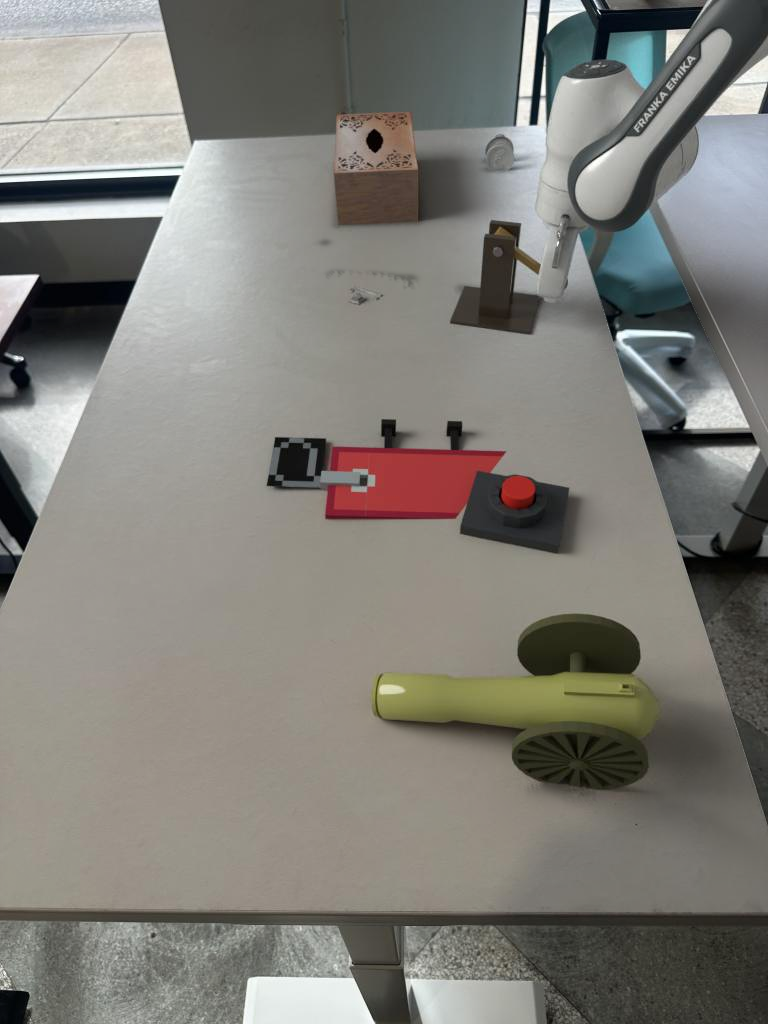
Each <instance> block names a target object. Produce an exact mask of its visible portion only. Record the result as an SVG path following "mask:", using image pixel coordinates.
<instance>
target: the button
mask: <svg viewBox="0 0 768 1024" xmlns="http://www.w3.org/2000/svg"><path fill="white" fill-rule="evenodd" d="M522 476H523V475H521V476H513V477H510V478H508V479H506V480H505V481H504V483H503V487H502V495H501V499H502V501H503V503H504V504H505V505H506V506H508V507H509V508H513V509H518V510H521V509H525V508H528V507H529V506H530V505H531V504H532V503H533V499H534V493H535V486H534V484H533V482H532V481H531V480H529V479H528V478H526V477H522Z"/></svg>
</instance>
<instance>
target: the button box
mask: <svg viewBox="0 0 768 1024" xmlns="http://www.w3.org/2000/svg"><path fill="white" fill-rule="evenodd" d="M513 476H522V477H526V478H528V479H529V480H531V481H532V482H533V484H534V486H535V493H534V499H533V503H532V504H531V505H530V506H529V507H528V508H525V509H521V510H518V509H513V508H509V507H508V506H506V505H505V504H504V503H503V501H502V499H501V495H502V487H503V483H504V481H505V480H506V479H508V478H510V477H513ZM569 493H570V487H568V486H563V485H557V484H552V483H546V482H541V481H537V480H535V479H533V478H532V477H530V476H526V475H521V474H515V473H514V474H509V475H503V474H498V473H493V472H491V473H487V472H482V471H477V472H476V476H475V479H474V482H473V486H472V489H471V492H470V495H469V499H468V502H467V504H466V506H465V509H464V512H463V515H462V519H461V522H460V526H459V534H460V535H464V536H467V537H473V538H478V539H482V540H487V541H492V542H498V543H503V544H507V545H512V546H517V547H521V548H527V549H532V550H536V551H541V552H547V553H550V554H551V553H552V554H554V555H555V554H556V555H557V554H558V551H559V547H560V541H561V537H562V531H563V526H564V520H565V515H566V510H567V509H566V508H567V503H568V498H569Z"/></svg>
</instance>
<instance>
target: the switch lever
mask: <svg viewBox="0 0 768 1024" xmlns="http://www.w3.org/2000/svg"><path fill="white" fill-rule="evenodd" d="M494 235H503V236H511V237H514V236H513V235H511V234H510V233H509V232H507V231H506V230H505V229H503V228H502V227H499V229H498V230H497V231H496V232H495V234H494ZM514 257H515V258H516V259H517V261H519V262H520V263H521V264H522V265H524V266H525V267H527V268H528V269H530V270H531V271H532V272H533V273H535V274H536V275H537V276H539V271H540V265H541V263H540V262H538V261H537V260H535V259H534V258H533V257H532V256H530V255H529V254H527V253H526V252H525V251H523V250H522V249H521V248H520V247H519V248H518V247H517V246H516V247H515V256H514ZM568 285H569V278H567V282H566V286H565V290H567V288H568Z"/></svg>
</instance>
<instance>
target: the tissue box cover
mask: <svg viewBox="0 0 768 1024" xmlns="http://www.w3.org/2000/svg"><path fill="white" fill-rule="evenodd" d="M335 119H336V120H335V142H334V143H335V144H334V160H333V161H334V162H333V163H334V164H333V179H334V180H333V181H334V192H335V203H336V214H337V215H336V216H337V225H338V226H351V225H352V226H353V225H354V226H355V225H374V224H398V223H417V222H419V166H418V165H419V164H418V157H417V150H416V142H415V135H414V127H413V120H412V119H413V118H412V112H411V111H392V112H387V111H386V112H369V113H368V112H367V113H350V114H349V113H346V114H336V118H335Z"/></svg>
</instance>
